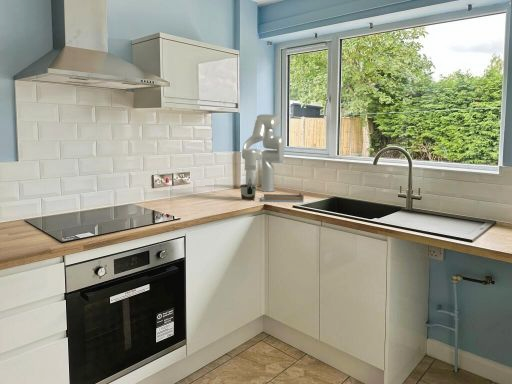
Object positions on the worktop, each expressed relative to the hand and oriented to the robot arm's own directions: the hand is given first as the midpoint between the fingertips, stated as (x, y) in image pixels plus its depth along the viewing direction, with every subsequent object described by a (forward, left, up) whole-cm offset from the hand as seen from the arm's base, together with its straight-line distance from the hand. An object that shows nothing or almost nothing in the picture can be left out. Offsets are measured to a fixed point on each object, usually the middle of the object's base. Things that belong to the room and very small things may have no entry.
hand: (249, 193), depth 283 cm
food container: (0, 0, -5) cm, 5 cm away
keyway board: (+1, +22, -4) cm, 23 cm away
